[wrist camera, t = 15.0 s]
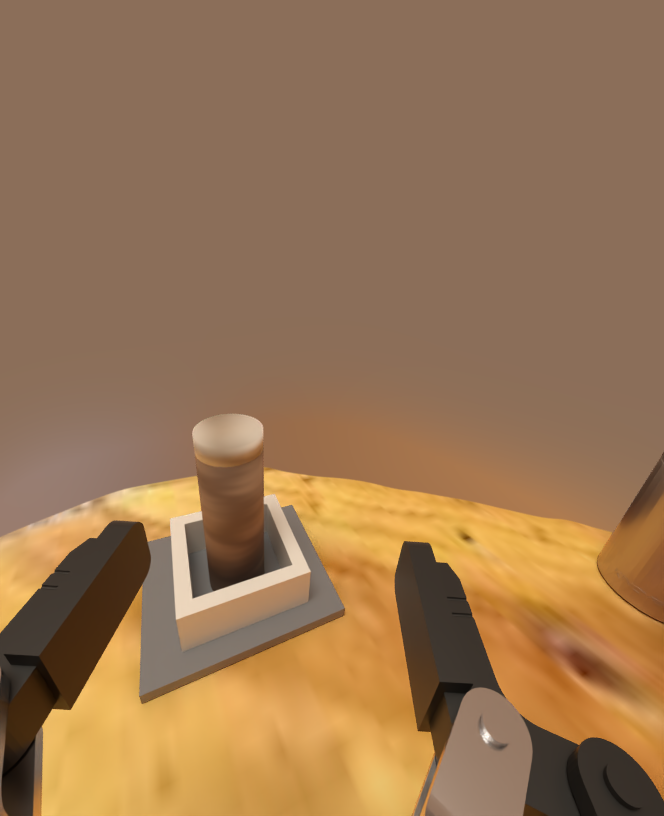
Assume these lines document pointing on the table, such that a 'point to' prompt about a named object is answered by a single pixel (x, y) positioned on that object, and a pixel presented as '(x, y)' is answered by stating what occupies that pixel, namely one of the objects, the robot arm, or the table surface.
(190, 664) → the post well
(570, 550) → the table surface
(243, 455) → the walnut post
